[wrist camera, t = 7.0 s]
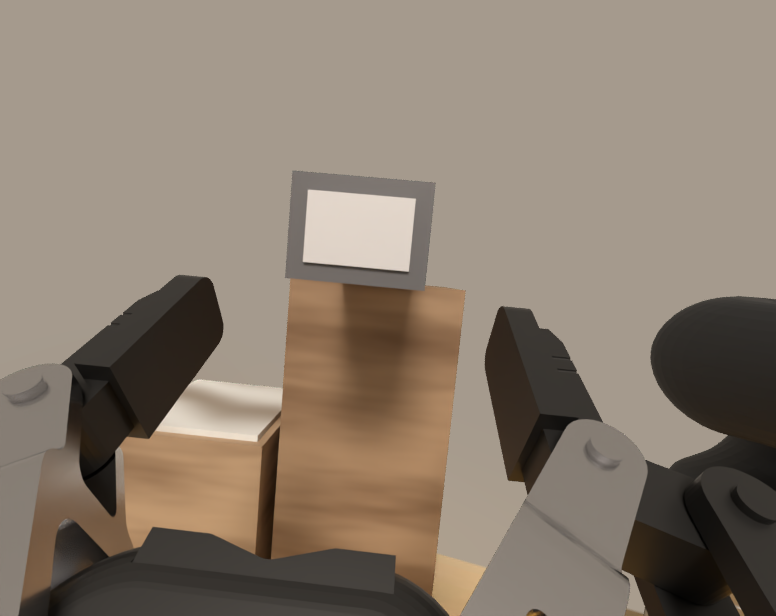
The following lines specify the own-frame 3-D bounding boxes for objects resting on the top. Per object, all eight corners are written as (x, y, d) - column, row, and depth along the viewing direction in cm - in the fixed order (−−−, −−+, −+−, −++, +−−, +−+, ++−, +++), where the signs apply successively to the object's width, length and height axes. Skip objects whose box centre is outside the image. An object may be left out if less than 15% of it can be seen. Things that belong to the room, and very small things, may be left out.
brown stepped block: (184, 605, 33) (201, 264, 30) (407, 632, 32) (443, 287, 30) (91, 746, 23) (104, 256, 20) (410, 789, 22) (465, 290, 20)
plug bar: (353, 278, 32) (357, 234, 32) (419, 284, 32) (423, 240, 31) (249, 274, 10) (258, 129, 10) (460, 294, 10) (476, 146, 9)
